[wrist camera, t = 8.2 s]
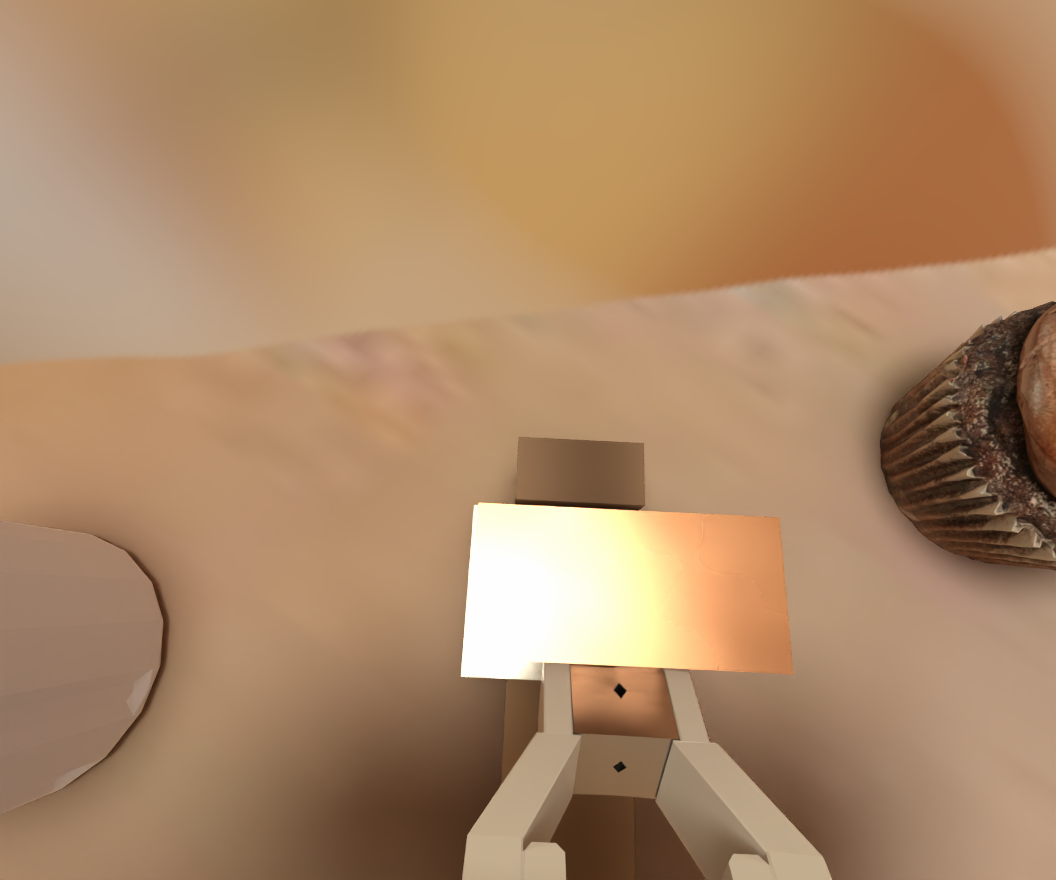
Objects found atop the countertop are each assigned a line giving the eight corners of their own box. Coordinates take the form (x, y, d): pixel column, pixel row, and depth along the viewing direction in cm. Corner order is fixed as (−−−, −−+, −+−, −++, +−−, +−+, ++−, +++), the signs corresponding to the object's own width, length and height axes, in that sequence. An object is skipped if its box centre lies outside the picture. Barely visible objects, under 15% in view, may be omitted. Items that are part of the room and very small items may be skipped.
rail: (477, 1250, 15) (459, 1548, 10) (518, 472, 22) (518, 436, 17) (617, 1256, 15) (662, 1556, 10) (616, 477, 22) (643, 443, 17)
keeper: (472, 660, 19) (405, 751, 8) (482, 523, 21) (437, 426, 9) (653, 669, 19) (856, 773, 8) (650, 531, 21) (819, 444, 9)
